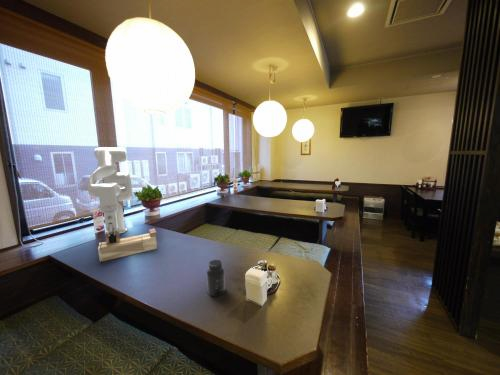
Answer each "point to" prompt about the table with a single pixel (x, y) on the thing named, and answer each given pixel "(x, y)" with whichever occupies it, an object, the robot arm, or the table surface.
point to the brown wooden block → (152, 232)
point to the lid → (120, 241)
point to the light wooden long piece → (128, 248)
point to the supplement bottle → (215, 278)
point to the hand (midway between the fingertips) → (113, 240)
